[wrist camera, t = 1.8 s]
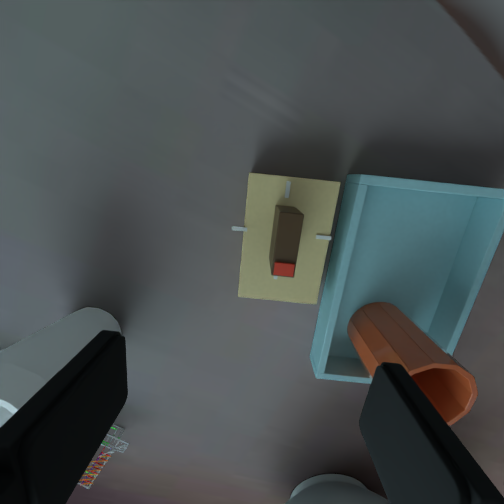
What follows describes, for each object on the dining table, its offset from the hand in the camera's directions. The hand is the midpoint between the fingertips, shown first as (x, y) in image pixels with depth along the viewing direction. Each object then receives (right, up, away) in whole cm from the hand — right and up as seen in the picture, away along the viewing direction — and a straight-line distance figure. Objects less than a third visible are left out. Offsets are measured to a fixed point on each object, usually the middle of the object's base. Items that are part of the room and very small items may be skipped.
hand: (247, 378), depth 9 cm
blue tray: (+15, +1, +18) cm, 23 cm away
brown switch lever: (+3, +6, +13) cm, 15 cm away
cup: (+15, -4, +19) cm, 24 cm away
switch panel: (+3, +6, +17) cm, 18 cm away
